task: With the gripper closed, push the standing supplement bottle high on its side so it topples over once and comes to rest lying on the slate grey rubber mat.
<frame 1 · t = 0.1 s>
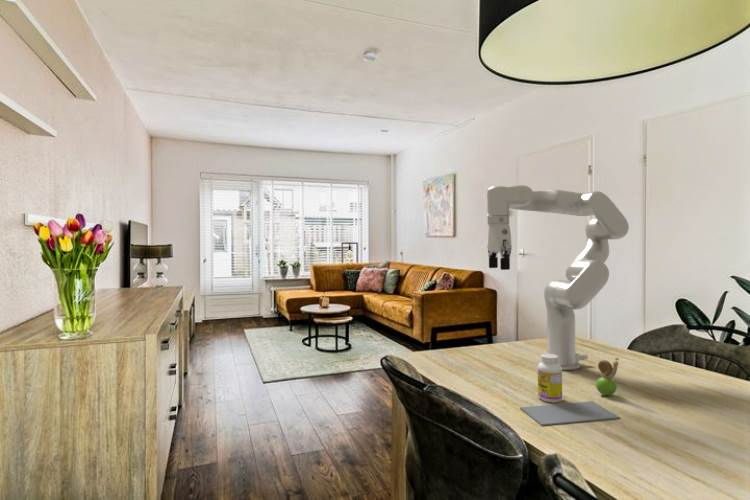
hand: (499, 268, 151), 37 cm above the table, tool pointing down, fingers open, 9 cm apart
supplement bottle: (550, 399, 124), on the table
mat: (568, 413, 113), on the table
snail figurine: (607, 396, 125), on the table
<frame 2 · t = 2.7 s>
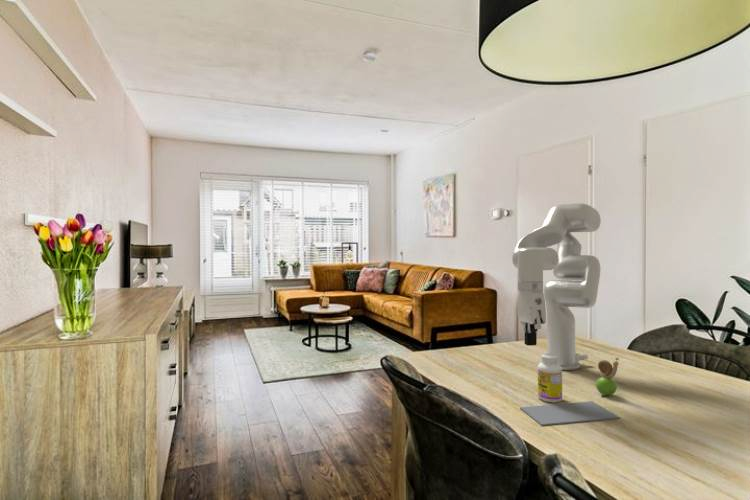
hand: (530, 344, 133), 14 cm above the table, tool pointing down, fingers closed
nothing on the table moved.
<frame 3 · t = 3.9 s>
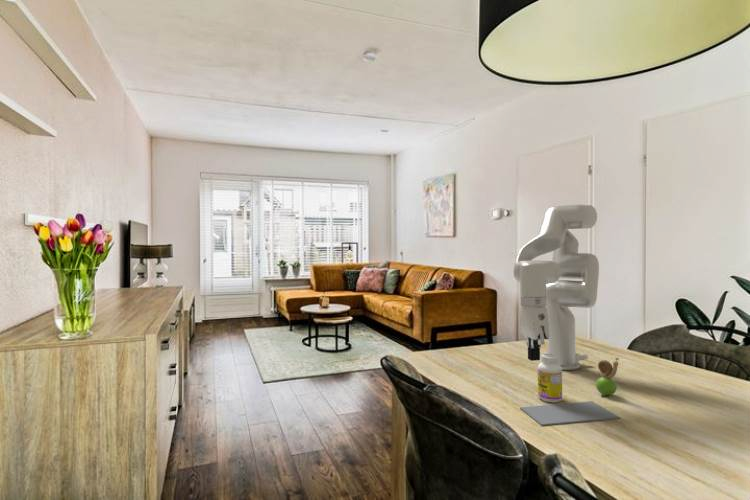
hand: (533, 359, 132), 9 cm above the table, tool pointing down, fingers closed
nothing on the table moved.
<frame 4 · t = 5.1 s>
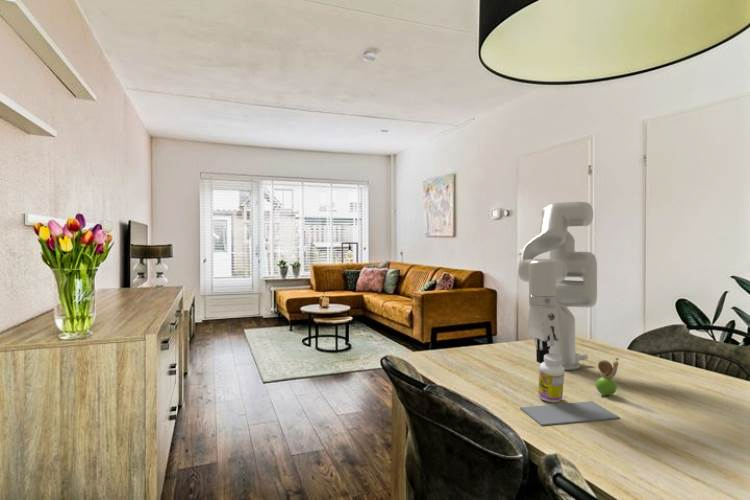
hand: (542, 362, 126), 10 cm above the table, tool pointing down, fingers closed
supplement bottle: (549, 397, 124), on the table, touching gripper
everything else where it was.
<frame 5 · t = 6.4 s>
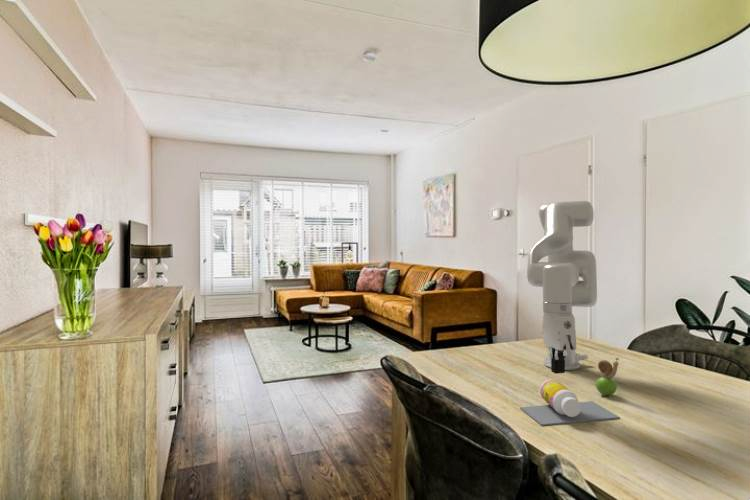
hand: (558, 372, 119), 9 cm above the table, tool pointing down, fingers closed
supplement bottle: (550, 390, 121), point 4 cm above the table, touching mat
everything else where it was.
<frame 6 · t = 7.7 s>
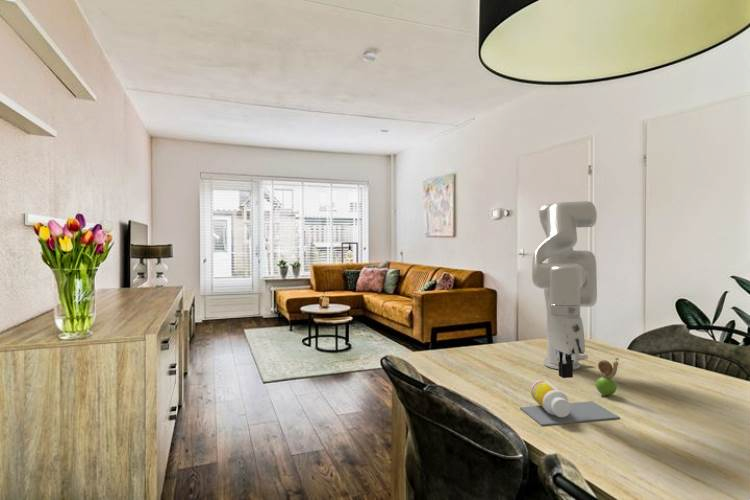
hand: (565, 376, 116), 9 cm above the table, tool pointing down, fingers closed
supplement bottle: (541, 390, 121), point 4 cm above the table, touching mat
everything else where it was.
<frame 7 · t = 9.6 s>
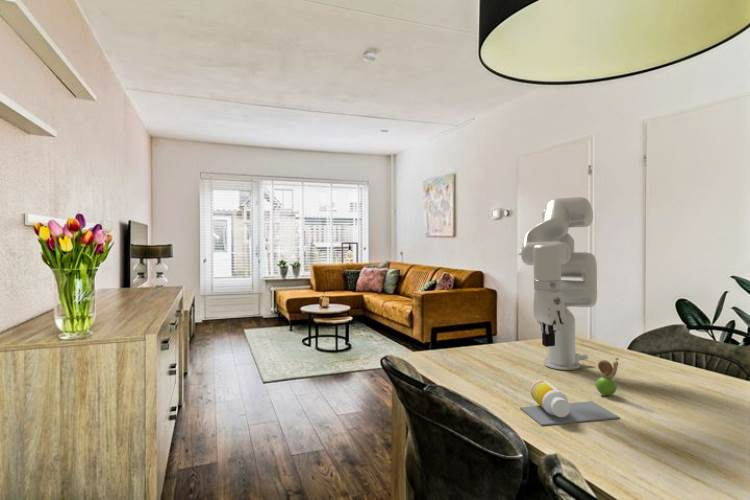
hand: (548, 345, 127), 15 cm above the table, tool pointing down, fingers closed
nothing on the table moved.
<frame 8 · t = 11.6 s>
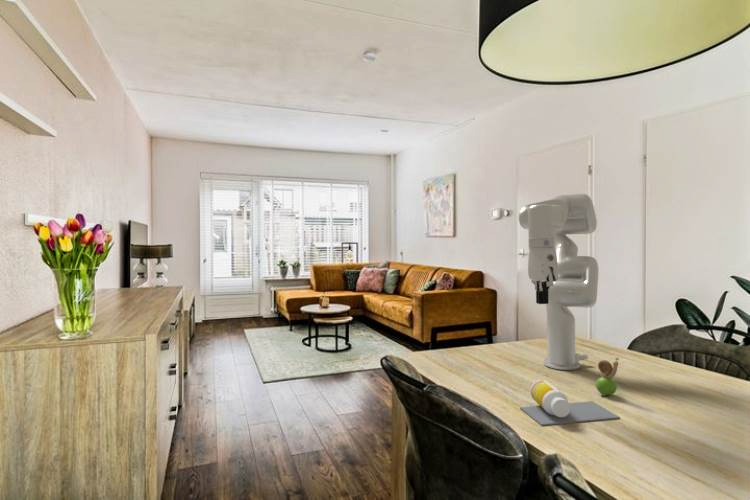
hand: (542, 303, 130), 27 cm above the table, tool pointing down, fingers closed
nothing on the table moved.
at the end: supplement bottle tilted 90°; supplement bottle touching mat; supplement bottle inside the target area (6.4 cm from its centre), point 3.7 cm above the table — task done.
